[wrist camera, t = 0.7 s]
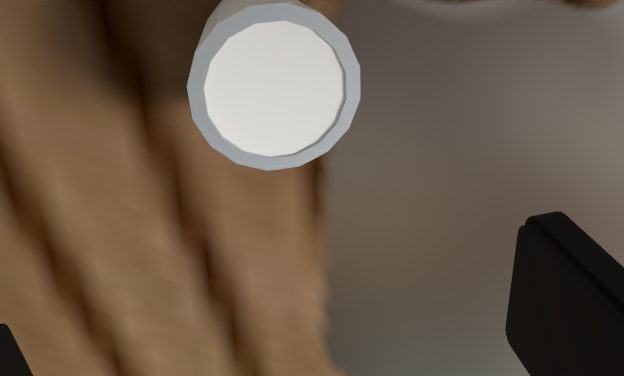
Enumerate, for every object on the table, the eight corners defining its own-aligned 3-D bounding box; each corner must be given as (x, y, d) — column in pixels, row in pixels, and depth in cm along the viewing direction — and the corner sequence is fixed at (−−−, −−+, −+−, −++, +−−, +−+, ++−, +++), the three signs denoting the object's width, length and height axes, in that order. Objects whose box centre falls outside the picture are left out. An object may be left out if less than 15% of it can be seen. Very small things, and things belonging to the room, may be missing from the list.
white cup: (308, -46, 25) (341, -22, 19) (340, 88, 29) (377, 143, 23) (167, -3, 25) (157, 35, 19) (217, 127, 29) (222, 192, 23)
